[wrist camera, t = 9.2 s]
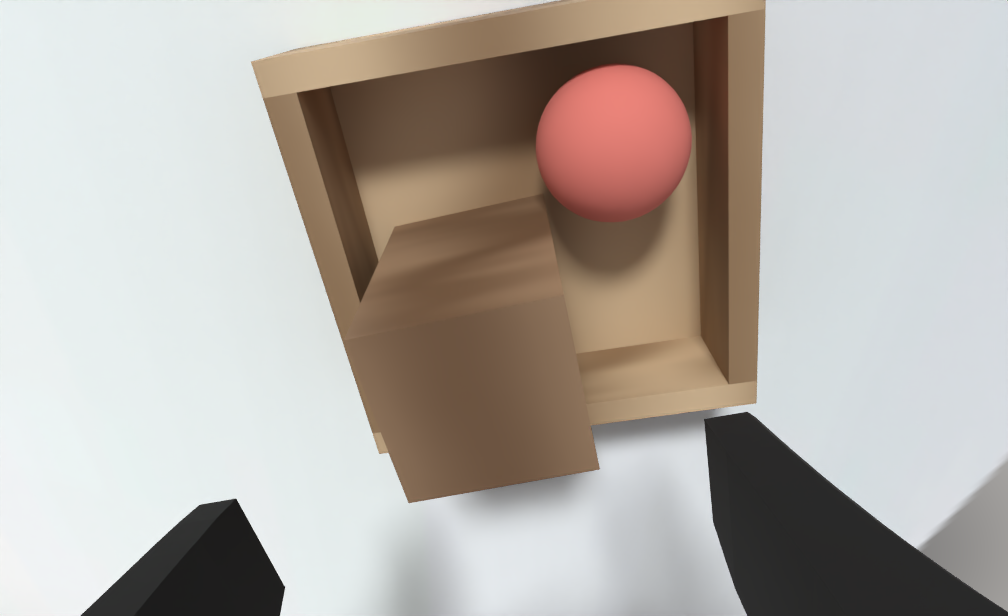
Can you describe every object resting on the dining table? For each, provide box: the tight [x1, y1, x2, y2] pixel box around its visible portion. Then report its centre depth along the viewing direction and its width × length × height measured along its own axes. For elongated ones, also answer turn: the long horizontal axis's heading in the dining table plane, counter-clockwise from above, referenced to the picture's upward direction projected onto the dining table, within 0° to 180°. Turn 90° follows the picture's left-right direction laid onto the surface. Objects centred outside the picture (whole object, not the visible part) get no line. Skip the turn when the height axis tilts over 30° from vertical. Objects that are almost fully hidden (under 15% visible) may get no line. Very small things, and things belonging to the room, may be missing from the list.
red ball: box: [536, 63, 692, 222], centre depth 14 cm, size 3×3×3 cm
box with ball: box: [251, 0, 766, 454], centre depth 16 cm, size 10×10×3 cm
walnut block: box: [344, 194, 600, 503], centre depth 15 cm, size 4×4×6 cm
